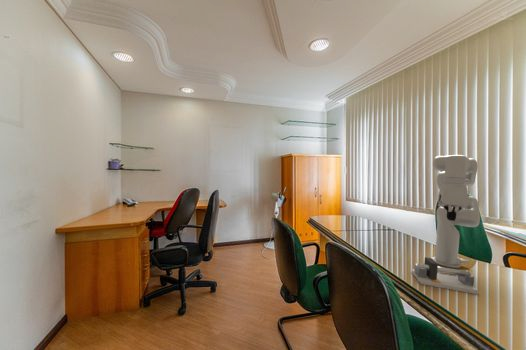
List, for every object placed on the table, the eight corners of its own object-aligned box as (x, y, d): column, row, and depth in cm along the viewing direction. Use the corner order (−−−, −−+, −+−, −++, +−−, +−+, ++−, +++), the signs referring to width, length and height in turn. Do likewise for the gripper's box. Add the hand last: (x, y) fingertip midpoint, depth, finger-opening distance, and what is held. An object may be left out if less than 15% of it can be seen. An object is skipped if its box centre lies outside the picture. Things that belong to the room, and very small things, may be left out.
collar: (429, 272, 102) (430, 258, 102) (436, 279, 95) (437, 264, 95) (423, 271, 103) (424, 257, 103) (430, 278, 96) (431, 263, 96)
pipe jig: (461, 280, 101) (462, 265, 100) (478, 294, 89) (479, 277, 89) (411, 271, 106) (412, 258, 106) (421, 283, 95) (422, 268, 95)
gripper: (469, 182, 104) (465, 220, 104) (431, 180, 108) (429, 216, 109) (479, 183, 97) (475, 223, 97) (439, 180, 101) (435, 219, 102)
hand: (451, 220), depth 103 cm, fingers closed
